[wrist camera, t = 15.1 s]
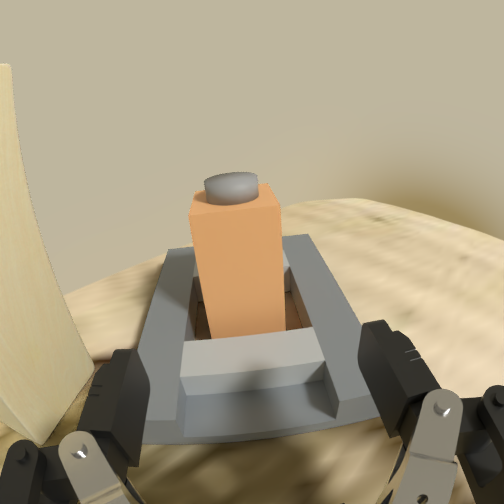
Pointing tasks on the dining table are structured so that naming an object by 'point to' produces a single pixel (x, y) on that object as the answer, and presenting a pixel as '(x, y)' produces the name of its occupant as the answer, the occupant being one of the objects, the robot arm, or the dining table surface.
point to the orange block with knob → (239, 255)
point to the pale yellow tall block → (31, 303)
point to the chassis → (252, 360)
